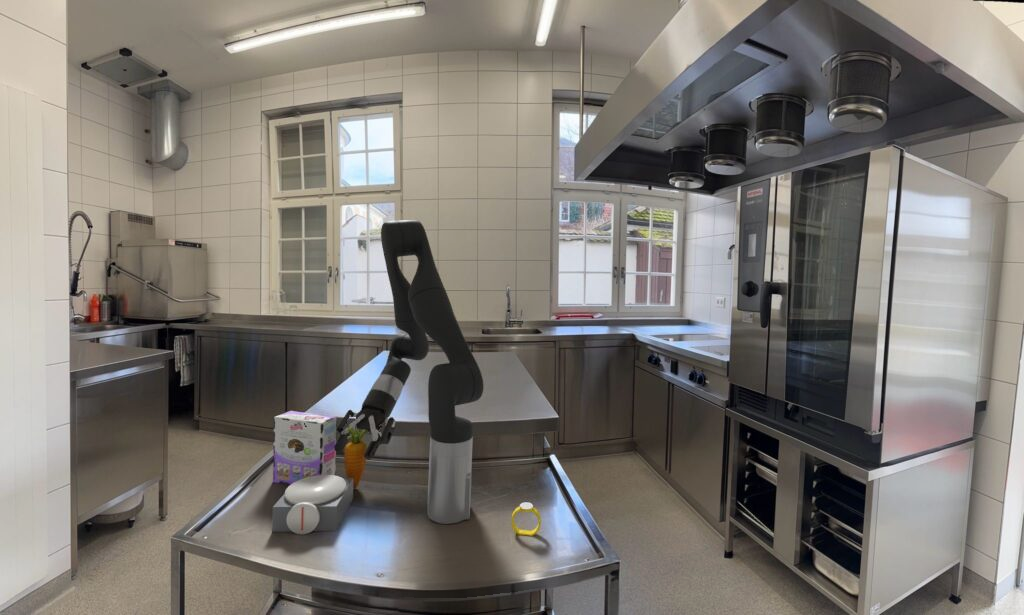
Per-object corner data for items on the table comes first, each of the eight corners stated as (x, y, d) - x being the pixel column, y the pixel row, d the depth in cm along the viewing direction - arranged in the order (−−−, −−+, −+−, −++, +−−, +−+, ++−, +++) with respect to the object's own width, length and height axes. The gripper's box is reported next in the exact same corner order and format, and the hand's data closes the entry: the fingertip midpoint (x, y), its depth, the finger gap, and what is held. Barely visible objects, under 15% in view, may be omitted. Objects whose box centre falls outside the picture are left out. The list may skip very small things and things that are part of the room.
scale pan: (352, 478, 92) (352, 474, 92) (335, 505, 80) (335, 501, 80) (298, 478, 91) (298, 474, 91) (274, 506, 79) (274, 502, 79)
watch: (511, 537, 82) (510, 508, 81) (512, 529, 84) (511, 501, 84) (540, 538, 81) (540, 509, 81) (541, 530, 84) (540, 502, 84)
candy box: (336, 480, 101) (338, 415, 100) (320, 491, 95) (322, 422, 95) (289, 472, 104) (291, 409, 103) (271, 482, 98) (272, 416, 98)
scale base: (352, 499, 92) (353, 473, 92) (333, 534, 79) (334, 504, 79) (297, 499, 91) (298, 473, 91) (269, 535, 78) (269, 505, 78)
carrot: (369, 486, 99) (371, 426, 98) (354, 495, 94) (356, 432, 93) (354, 481, 101) (356, 422, 100) (338, 490, 96) (340, 428, 95)
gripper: (354, 384, 106) (319, 442, 95) (401, 391, 101) (369, 453, 91) (367, 399, 111) (335, 456, 101) (412, 407, 106) (383, 467, 96)
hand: (351, 455), depth 96 cm, fingers open, 8 cm apart
